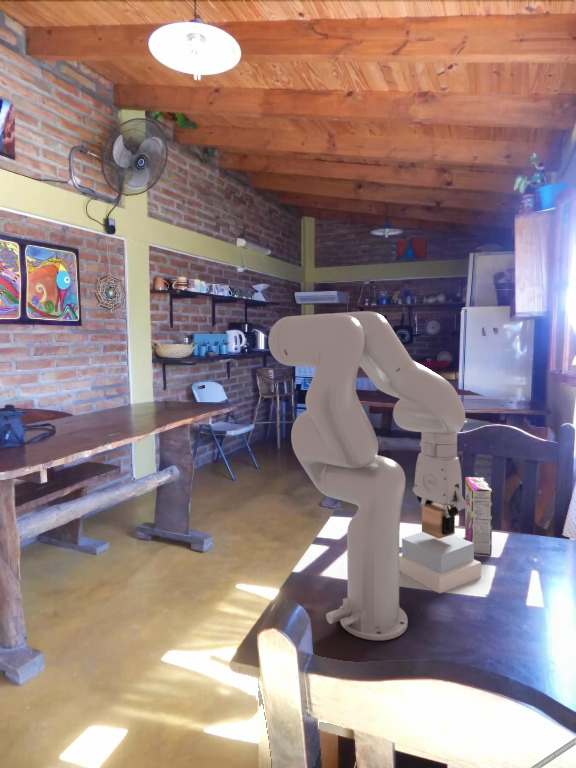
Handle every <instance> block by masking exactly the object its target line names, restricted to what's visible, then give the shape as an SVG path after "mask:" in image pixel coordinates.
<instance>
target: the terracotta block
mask: <svg viewBox="0 0 576 768" xmlns="http://www.w3.org/2000/svg"><path fill="white" fill-rule="evenodd" d="M448 506H449V510H450V505H448ZM444 516H445V515H444V511H443V506H442V505H441V504H438V503H435V502H433V503H430V504H426V505H422V508H421V532H424V533H427V534H429V535H431V536H434V537H436V538H438V539H440V538H443V537H447V536H450V535H455V534H456V533H455V532H456V530H455V529H456V516H454V532H453V533H450V534H447V535H443V534H442V517H444Z"/></svg>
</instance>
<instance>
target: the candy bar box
mask: <svg viewBox="0 0 576 768" xmlns="http://www.w3.org/2000/svg"><path fill="white" fill-rule="evenodd" d="M464 479H465V480H464V481H465V483H464V484H465V487H464V488H465V489H464V490H465V494H464V495H465V497H464V498H465V499H464V500H465V502H466V504H467V507H466V508H465V509H464V510H465V511H464V513H465V517H464V520H465V523H464V527H465V528H464V529H465V531H464V532H465V533H464V537H465V540H467V541H470V542H472V543H474V555H489V556H491V555H492V554H493V553H492V550H493V549H492V546H493V545H492V544H493V543H492V538H493V532H492V531H493V529H492V528H493V522H492V521H493V520H492V519H493V490H492V488H491V487H490V485H489V484H488V482H487V480H486V479H485V478H484V477H479V476H478V477H475V476H472V477H471V476H466V477H464Z"/></svg>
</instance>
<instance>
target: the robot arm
mask: <svg viewBox="0 0 576 768" xmlns="http://www.w3.org/2000/svg"><path fill="white" fill-rule="evenodd" d="M267 342H268V348H269V352H270V353H271V355H272V356H273V358H274V359H275V360H276V361H277V362H278V363H280V364H282V365H285V366H288V367H304V368H306V367H308V368H309V367H312V368H313V367H314V368H315V370H314V373H313V376H312V379H311V381H310V384H309V386H308V389H307V392H306V395H305V399H304V400H305V408H306V410H305V411H303V412H302V413H300V414H299V415H298V416H297V417H296V419H295V420H294V422H293V424H292V428H291V431H290V432H291V433H290V437H291V441H290V442H291V445H292V449H293V452H294V454H295V456H296V458H297V460H298V462H299V463H300V464H301V466H302V467H303V469H304V471H305V473H306V474H307V476H308V477H309V480H311V482H312V483H313V485H314V487H316V488H317V490H318V491H319V492H320V493H321V494H323V495H324V496H326V497H329V498H332V499H335V500H339V501H343V502H346V503H350V504H353V505H356V506H357V507H358V508H357V511H356V513H354V515H353V516H352V518H351V520H350V521H349V523H348V526H347V531H346V533H347V534H346V536H347V537H346V538H347V539H346V540H347V541H346V543H347V545H346V548H347V554H346V556H347V571H346V572H347V597H344V598H343V599H342V605H340V606H339V608H338V609H334V610H331V611H329V612H327V613H326V614H325V618H326V621H327V622H328V624H334V623H337V622H340V625H341V627H342V628H343V629H344V630H345V631H347V632H348V633H349V634H351V635H353V636H355V637H357V638H360V639H363V640H368V641H369V640H370V641H389V640H392V639H395V638H397V637H400V636H401V635H402V634H404V633H405V632H406V630H407V629H408V626H409V625H408V622H409V621H408V616H407V613H406V612H405V611H404V609H403V608H402V607H400V571H399V553H400V529H401V528H400V527H401V526H400V525H401V524H400V523H401V522H400V521H401V513H402V505H403V500H404V496H405V495H404V494H405V489H406V474H405V472H404V469H403V467H402V466H401V465H400V464H399V463H398V462H397V461H395V460H393V459H392V458H388V457H386V456H382V455H378V453H379V441H378V438H377V435H376V432H375V430H374V427H373V425H372V424H371V422H370V419H369V418H368V416H367V413H366V411H365V410H364V408H363V405H362V404H361V401H360V399H359V396H358V394H357V391H356V383H357V378H358V377H357V376H358V371H359V367H360V368H361V369H362V370H363V372H364V373H365V374H366V375H367V377H368V379H370V381H371V382H372V384H373V385H374V386H375V388H377V389H378V391H380V392H382V393H385V394H387V395H389V396H391V397H394V398H397V399H399V400H397V402H396V403H395V405H394V406H393V411H392V415H393V416H392V417H393V420H394V422H395V424H396V425H397V426H398V427H399V428H400V429H403V430H406V431H411V432H417V433H418V432H420V433H421V440H420V441H419V446H420V447H421V448H420V449H421V452H419V453H418V456H417V460H416V464H415V470H414V471H415V473H414V485H413V487H412V492H413V494H415V496H416V497H417V498H416V499H417V500H418V502H419V507H420V508H421V509H422V505H426V504H430V503H434V502H435V503H438V504H441V505H442V506H443V511H444V515H445V516H444V517H442V534H443V535H447V534H450V533H453V532H454V516H455V517H456V516H457V515H458V514H459V513H460V512H461V511H463V510H465V508H466V507H467V504H466V502H465V499H464V498H465V497H464V496H463V483H462V482H463V481H462V470H461V464H460V458H459V457H458V453H457V452H458V434H459V432H460V431H461V430H462V429H463V428H464V425H465V423H466V411H465V407H464V404H463V402H462V400H461V397H460V396H459V394H458V392H457V391H456V389H455V387H454V386H453V384H452V383H450V382H449V381H448V380H447V379H446V378H444V377H442V376H441V375H439V374H438V373H436V372H434V371H432V370H431V369H429V368H428V367H425V366H424V365H422V364H420V363H418V362H416V361H415V360H413V358H412V356H410V353H408V352H409V351H407V349H406V347H404V345H403V343H402V342H401V340H400V338H398V335H397V334H396V332H395V331H394V329H393V327H392V326H391V324H390V323H389V322H388V320H387V319H386V318H385V317H384V316H383V315H382V314H380V313H378V312H375V311H368V310H367V311H364V310H363V311H351V312H350V311H348V312H335V313H317V314H306V315H305V314H304V315H290V316H289V315H288V316H283V317H282V318H280V319H278V320H277V321H276V322H275V323H274V324H273V326H272V327H271V329H270V332H269V335H268V341H267ZM448 505H449V506H450V510H449V506H448Z"/></svg>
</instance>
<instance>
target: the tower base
mask: <svg viewBox="0 0 576 768" xmlns="http://www.w3.org/2000/svg"><path fill="white" fill-rule="evenodd" d="M399 573H401V574H404V575H406V576H408V577H410V578H411V579H413V580H414V581H416V582H418V583H420V584H422V585H423V586H425V587H427V588H429V589H431V590H432V591H434V592H436V593H438V594H441V593H444V592H448V591H450V590H452V589H454V588H457V587H460V586H462V585H465V584H468V583H470V582H473V581H475V580H478V579H481V578H482V562H481V561H479V560H476V559H474V560H473V561H471V562H469V563H466V564H464V565H461V566H459V567H457V568H454V569H452V570H449V571H447V572H444V573H442V574H440V573H438V572H436V571H434V570H432V569H430V568H428V567H425V566H423V565H421V564H419V563H417V562H415V561H413V560H411V559H408V558H406V557H404V556H402V552H399Z"/></svg>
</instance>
